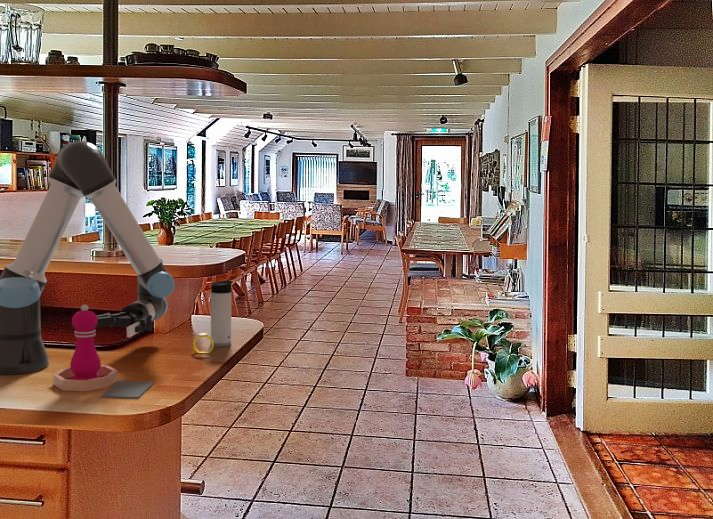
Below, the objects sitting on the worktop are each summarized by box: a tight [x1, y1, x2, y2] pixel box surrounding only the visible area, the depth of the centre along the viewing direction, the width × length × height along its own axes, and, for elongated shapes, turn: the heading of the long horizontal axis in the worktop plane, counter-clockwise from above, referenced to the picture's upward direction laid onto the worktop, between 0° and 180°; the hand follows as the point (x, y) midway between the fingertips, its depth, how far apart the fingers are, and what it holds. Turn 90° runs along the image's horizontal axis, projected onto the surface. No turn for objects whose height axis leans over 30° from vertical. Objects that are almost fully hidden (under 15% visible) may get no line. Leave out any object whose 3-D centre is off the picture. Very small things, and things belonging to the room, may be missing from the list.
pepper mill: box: [69, 304, 102, 380], centre depth 176 cm, size 7×7×20 cm
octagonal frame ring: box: [52, 364, 119, 392], centre depth 177 cm, size 14×14×2 cm
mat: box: [100, 380, 155, 400], centre depth 172 cm, size 9×12×1 cm
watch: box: [192, 332, 215, 355], centre depth 208 cm, size 6×3×6 cm, turn 88°
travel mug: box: [210, 280, 233, 348], centre depth 218 cm, size 6×7×20 cm
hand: (103, 331), depth 185 cm, fingers open, 13 cm apart
